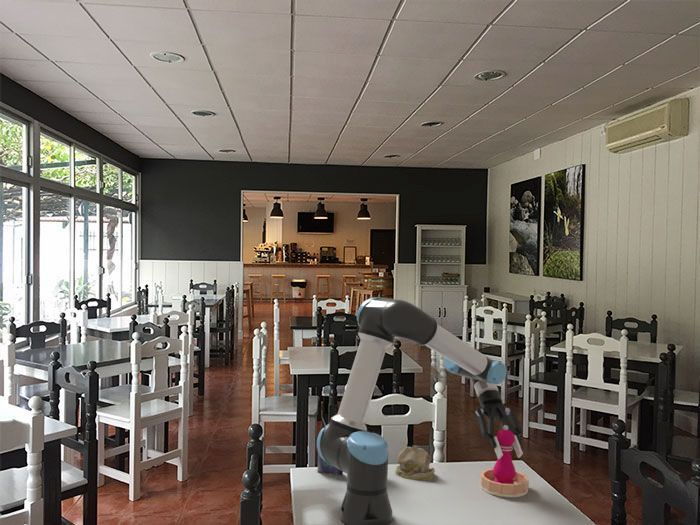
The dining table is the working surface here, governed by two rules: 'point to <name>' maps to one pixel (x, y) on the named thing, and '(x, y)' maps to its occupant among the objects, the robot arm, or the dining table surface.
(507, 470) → the pepper mill
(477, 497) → the dining table surface
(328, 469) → the flask
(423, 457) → the ceramic model
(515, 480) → the terracotta bowl
